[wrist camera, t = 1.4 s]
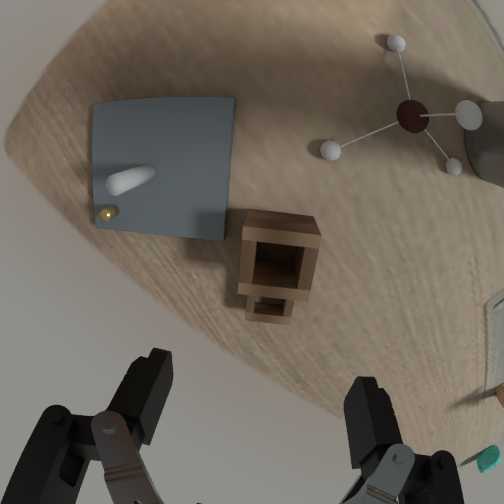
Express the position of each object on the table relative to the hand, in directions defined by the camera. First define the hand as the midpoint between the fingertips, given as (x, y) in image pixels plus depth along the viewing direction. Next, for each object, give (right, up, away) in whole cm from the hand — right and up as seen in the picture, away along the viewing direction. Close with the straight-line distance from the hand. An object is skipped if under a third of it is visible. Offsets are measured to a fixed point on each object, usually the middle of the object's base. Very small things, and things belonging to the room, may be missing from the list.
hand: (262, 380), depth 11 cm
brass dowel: (-14, +10, +15) cm, 23 cm away
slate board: (-9, +14, +14) cm, 22 cm away
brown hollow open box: (+2, +4, +17) cm, 18 cm away
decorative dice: (+83, -66, +41) cm, 113 cm away
